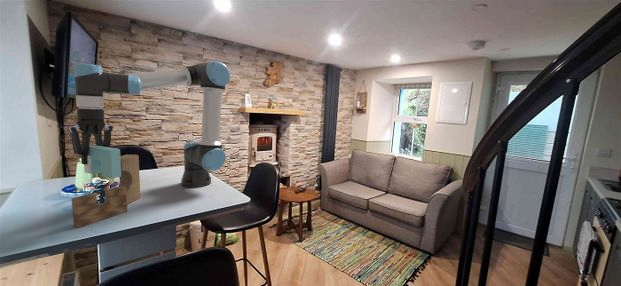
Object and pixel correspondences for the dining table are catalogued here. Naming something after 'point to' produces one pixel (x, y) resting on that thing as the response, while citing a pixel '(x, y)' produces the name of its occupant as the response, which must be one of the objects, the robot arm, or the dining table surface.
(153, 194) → the dining table surface
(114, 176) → the teal board
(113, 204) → the walnut board
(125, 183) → the decorative block
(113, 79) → the robot arm
